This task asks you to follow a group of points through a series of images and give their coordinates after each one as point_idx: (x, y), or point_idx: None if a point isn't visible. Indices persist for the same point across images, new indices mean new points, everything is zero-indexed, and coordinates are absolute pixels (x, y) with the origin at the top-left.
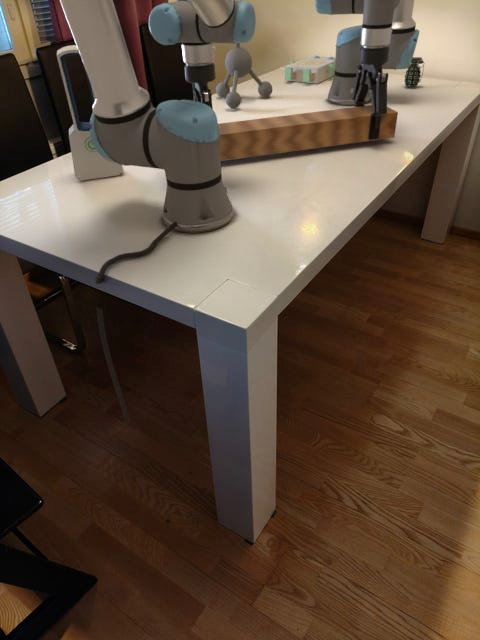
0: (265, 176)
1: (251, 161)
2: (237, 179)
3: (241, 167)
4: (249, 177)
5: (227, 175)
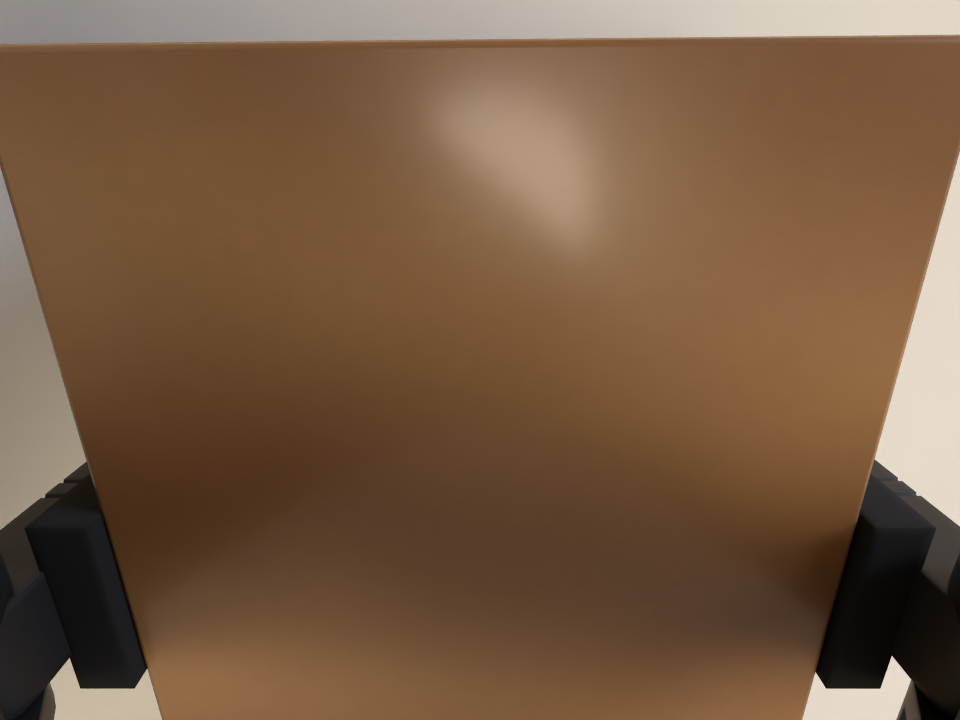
0: (55, 681)
1: None
2: (13, 511)
3: None
4: None
5: None
